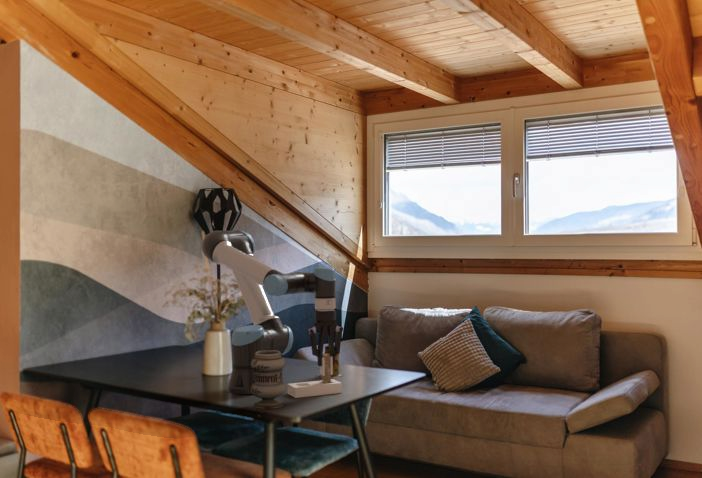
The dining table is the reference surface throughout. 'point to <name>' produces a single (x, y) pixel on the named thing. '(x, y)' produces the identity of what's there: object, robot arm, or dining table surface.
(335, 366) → the condiment
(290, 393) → the hole block
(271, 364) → the apothecary jar
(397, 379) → the dining table surface
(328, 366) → the dowel
